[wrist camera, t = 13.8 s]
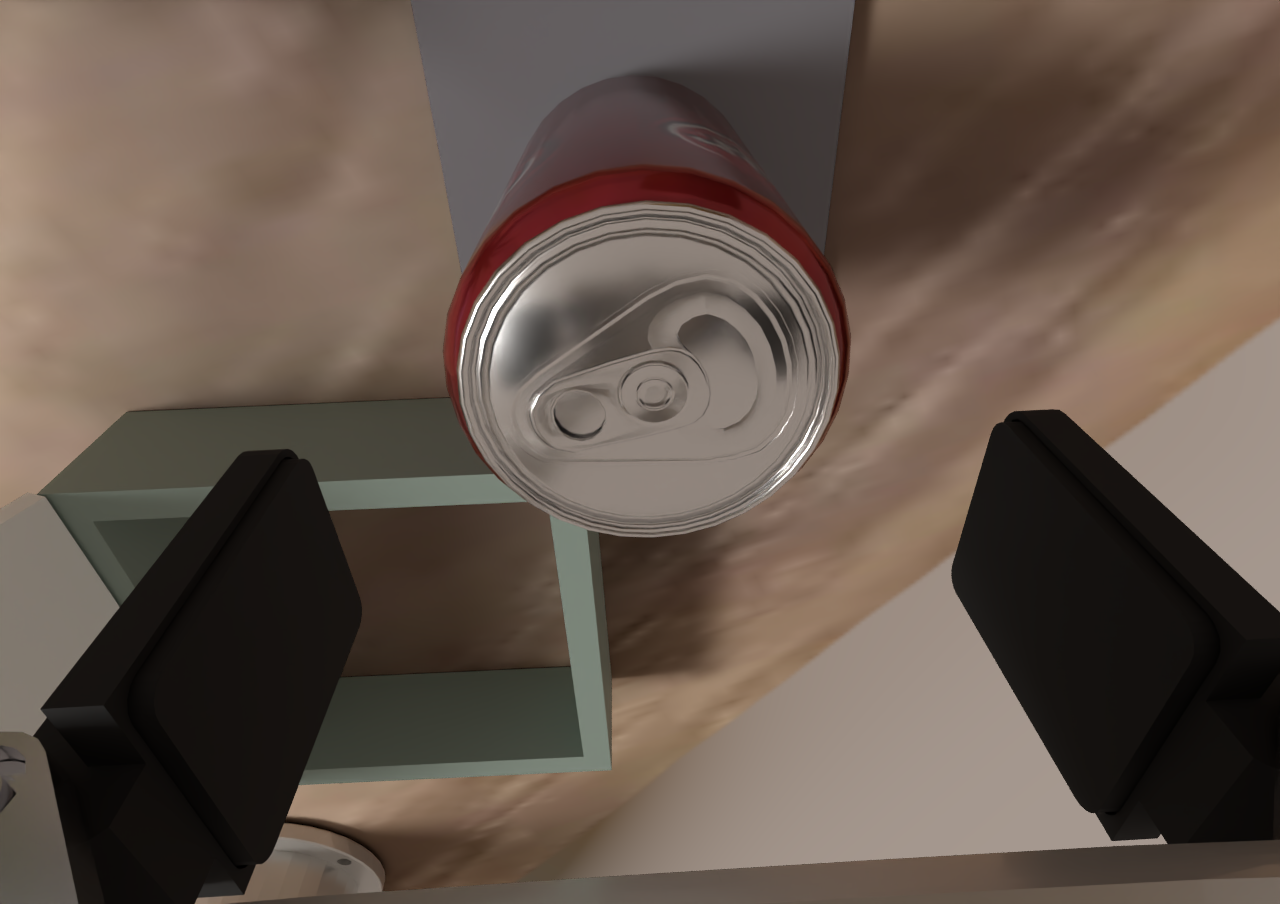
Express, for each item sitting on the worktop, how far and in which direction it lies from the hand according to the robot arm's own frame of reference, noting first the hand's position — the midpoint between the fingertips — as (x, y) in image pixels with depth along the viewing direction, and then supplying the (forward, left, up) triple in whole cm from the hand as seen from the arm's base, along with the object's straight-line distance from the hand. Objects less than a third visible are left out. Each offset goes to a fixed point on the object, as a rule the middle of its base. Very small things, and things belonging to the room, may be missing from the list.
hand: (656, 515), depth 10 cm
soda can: (0, 0, -15) cm, 15 cm away
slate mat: (0, 0, -15) cm, 15 cm away
